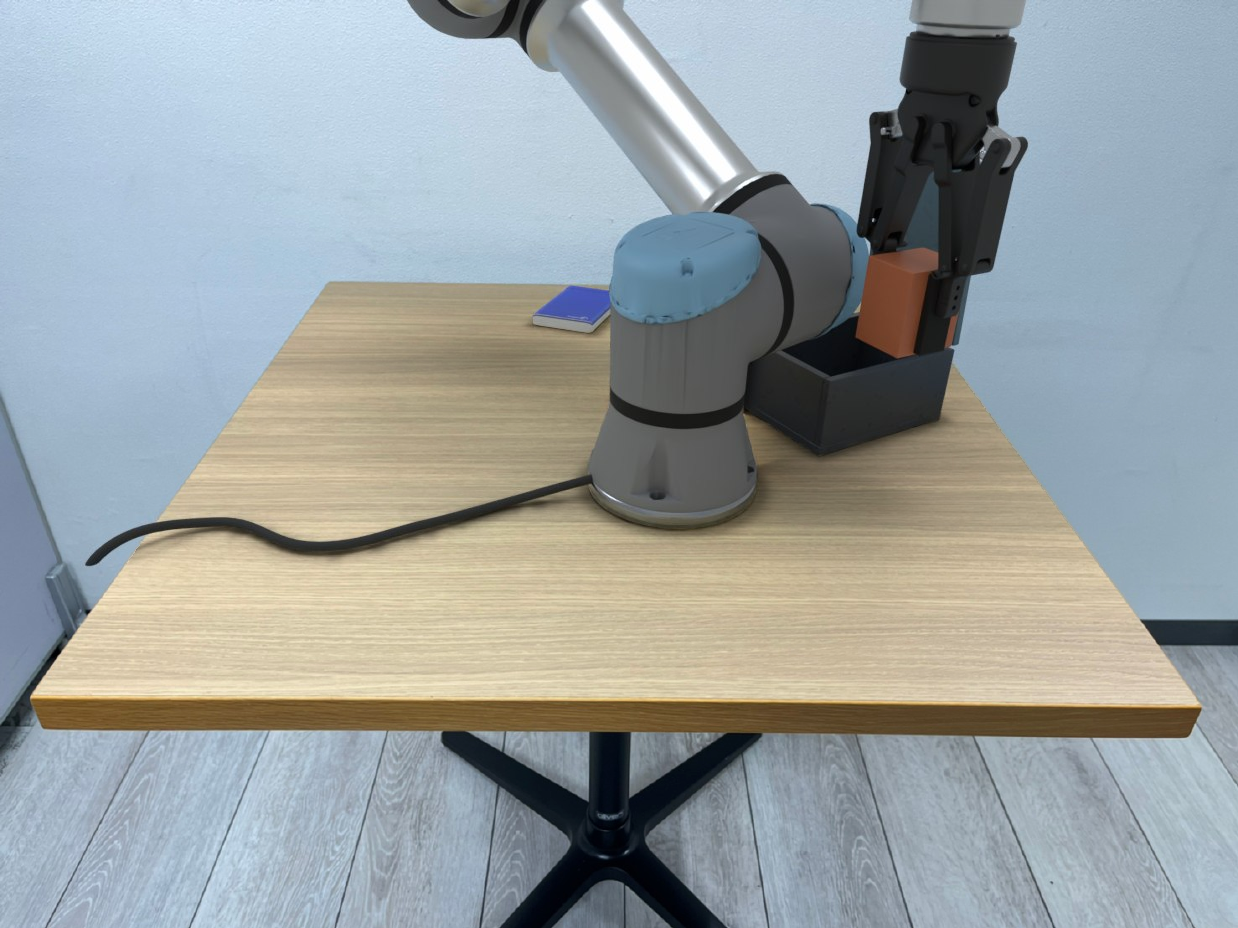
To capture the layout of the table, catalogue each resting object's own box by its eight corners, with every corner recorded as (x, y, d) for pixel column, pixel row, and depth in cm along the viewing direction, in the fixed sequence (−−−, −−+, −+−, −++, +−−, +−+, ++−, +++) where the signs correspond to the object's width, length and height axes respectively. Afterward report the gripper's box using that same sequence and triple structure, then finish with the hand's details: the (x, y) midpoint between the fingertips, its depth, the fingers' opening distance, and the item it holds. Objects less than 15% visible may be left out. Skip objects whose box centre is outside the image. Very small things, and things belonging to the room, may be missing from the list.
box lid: (985, 165, 83) (1033, 155, 85) (882, 141, 92) (929, 132, 95) (953, 346, 92) (997, 331, 95) (862, 307, 101) (905, 295, 104)
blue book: (592, 321, 114) (623, 292, 125) (532, 313, 116) (568, 284, 127) (592, 333, 115) (623, 303, 125) (532, 324, 117) (568, 295, 128)
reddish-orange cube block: (897, 358, 73) (913, 273, 69) (855, 337, 77) (868, 255, 73) (951, 346, 75) (969, 264, 72) (908, 326, 79) (923, 247, 76)
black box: (818, 456, 88) (830, 381, 84) (738, 405, 98) (745, 336, 94) (939, 419, 96) (955, 349, 92) (854, 375, 106) (865, 310, 102)
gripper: (1110, 41, 59) (1022, 371, 71) (910, 20, 73) (863, 299, 84) (1031, 44, 56) (952, 389, 67) (837, 21, 69) (799, 311, 81)
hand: (903, 338), depth 76 cm, fingers closed on reddish-orange cube block, 5 cm apart
